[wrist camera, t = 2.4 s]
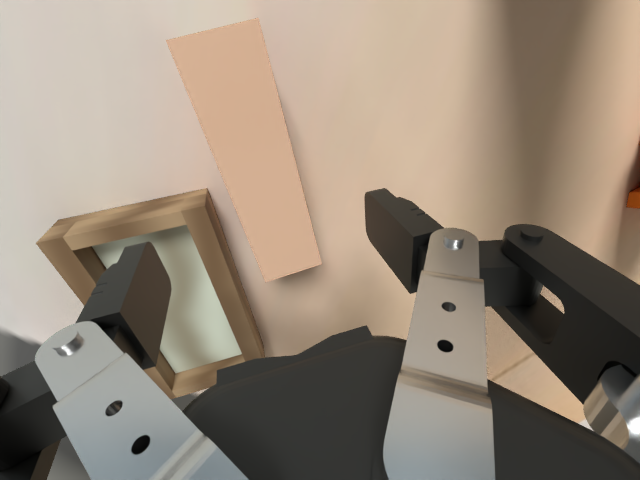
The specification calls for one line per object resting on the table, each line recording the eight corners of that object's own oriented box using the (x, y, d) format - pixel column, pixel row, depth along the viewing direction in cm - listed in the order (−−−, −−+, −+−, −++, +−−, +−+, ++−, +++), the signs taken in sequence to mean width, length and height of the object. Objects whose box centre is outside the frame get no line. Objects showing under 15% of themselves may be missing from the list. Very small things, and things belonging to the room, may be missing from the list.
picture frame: (207, 188, 22) (204, 205, 20) (263, 345, 32) (266, 370, 30) (58, 219, 21) (35, 243, 19) (165, 374, 31) (159, 402, 29)
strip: (250, 25, 18) (258, 18, 13) (304, 222, 26) (322, 264, 21) (182, 41, 18) (165, 40, 13) (258, 236, 26) (265, 282, 21)
